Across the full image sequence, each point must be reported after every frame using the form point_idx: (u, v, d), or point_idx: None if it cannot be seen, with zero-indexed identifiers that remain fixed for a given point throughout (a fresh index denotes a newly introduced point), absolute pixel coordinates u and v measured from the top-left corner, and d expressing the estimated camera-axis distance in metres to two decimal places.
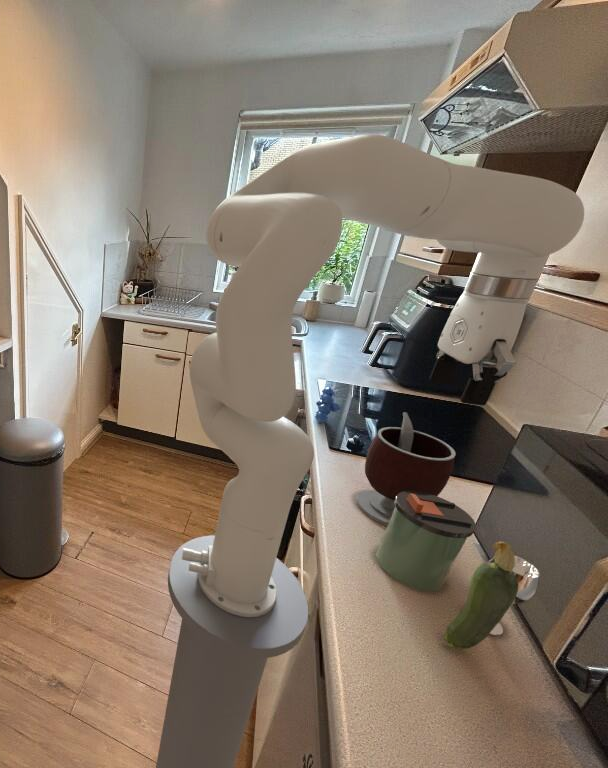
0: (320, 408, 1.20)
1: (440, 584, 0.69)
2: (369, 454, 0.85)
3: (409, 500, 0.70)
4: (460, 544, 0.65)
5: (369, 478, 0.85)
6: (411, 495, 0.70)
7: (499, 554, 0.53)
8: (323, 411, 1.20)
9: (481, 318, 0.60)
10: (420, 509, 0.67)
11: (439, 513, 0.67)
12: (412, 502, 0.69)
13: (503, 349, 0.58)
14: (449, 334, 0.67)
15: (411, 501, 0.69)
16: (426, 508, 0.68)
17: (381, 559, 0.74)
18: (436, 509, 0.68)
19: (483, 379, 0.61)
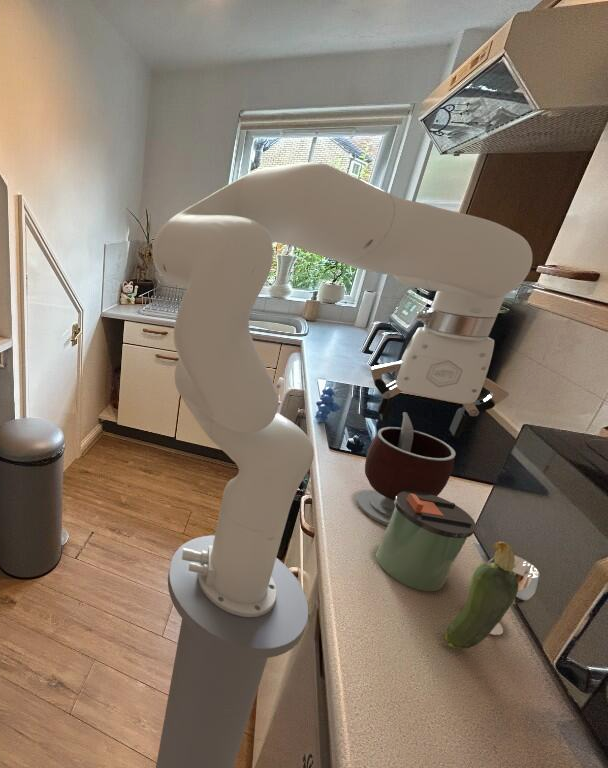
0: (320, 408, 1.20)
1: (440, 584, 0.69)
2: (369, 454, 0.85)
3: (409, 500, 0.70)
4: (460, 544, 0.65)
5: (369, 478, 0.85)
6: (411, 495, 0.70)
7: (499, 554, 0.53)
8: (323, 411, 1.20)
9: (481, 360, 0.58)
10: (420, 509, 0.67)
11: (439, 513, 0.67)
12: (412, 502, 0.69)
13: (493, 382, 0.60)
14: (424, 377, 0.62)
15: (411, 501, 0.69)
16: (426, 508, 0.68)
17: (381, 559, 0.74)
18: (436, 509, 0.68)
19: None
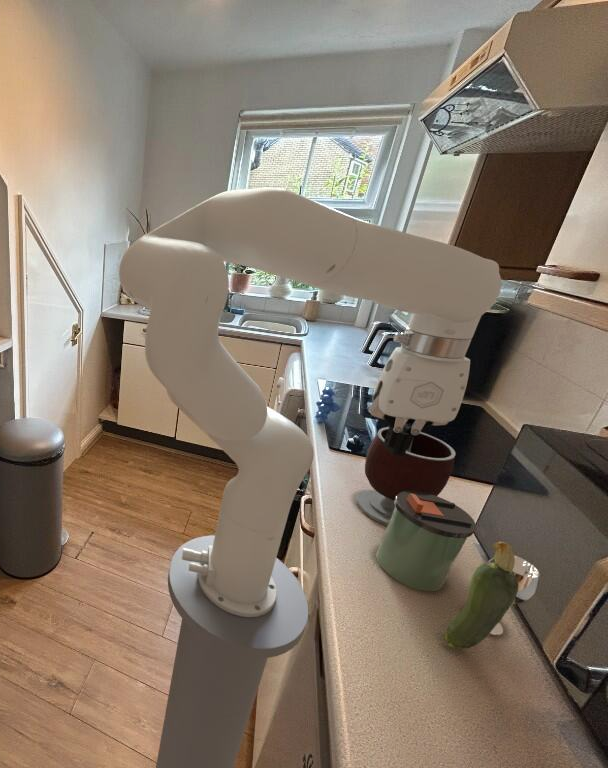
0: (320, 408, 1.20)
1: (440, 584, 0.69)
2: (369, 454, 0.85)
3: (409, 500, 0.70)
4: (460, 544, 0.65)
5: (369, 478, 0.85)
6: (411, 495, 0.70)
7: (499, 554, 0.53)
8: (323, 411, 1.20)
9: (460, 379, 0.58)
10: (420, 509, 0.67)
11: (439, 513, 0.67)
12: (412, 502, 0.69)
13: None
14: (408, 399, 0.61)
15: (411, 501, 0.69)
16: (426, 508, 0.68)
17: (381, 559, 0.74)
18: (436, 509, 0.68)
19: None
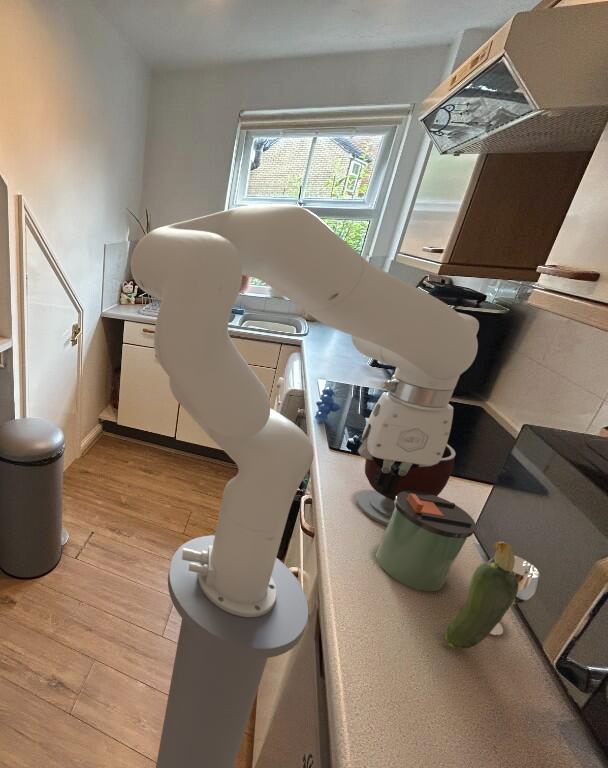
0: (320, 408, 1.20)
1: (440, 584, 0.69)
2: None
3: (409, 500, 0.70)
4: (460, 544, 0.65)
5: (369, 478, 0.85)
6: (411, 495, 0.70)
7: (499, 554, 0.53)
8: (323, 411, 1.20)
9: (444, 426, 0.61)
10: (420, 509, 0.67)
11: (439, 513, 0.67)
12: (412, 502, 0.69)
13: None
14: (395, 443, 0.63)
15: (411, 501, 0.69)
16: (426, 508, 0.68)
17: (381, 559, 0.74)
18: (436, 509, 0.68)
19: None
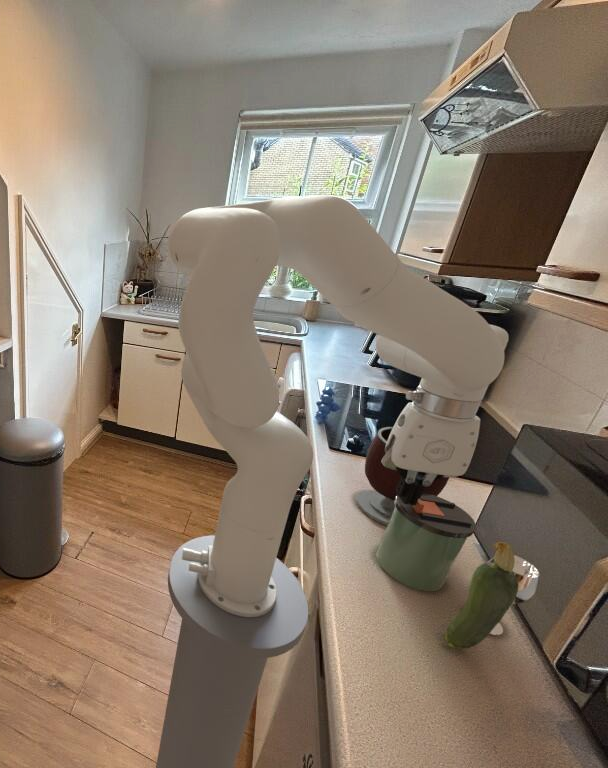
0: (320, 408, 1.20)
1: (440, 584, 0.69)
2: (369, 454, 0.85)
3: None
4: (460, 544, 0.65)
5: (369, 478, 0.85)
6: None
7: (499, 554, 0.53)
8: (323, 411, 1.20)
9: (471, 437, 0.61)
10: (421, 509, 0.67)
11: (440, 513, 0.67)
12: None
13: None
14: (420, 454, 0.63)
15: None
16: (427, 508, 0.68)
17: (381, 559, 0.74)
18: (437, 509, 0.68)
19: None
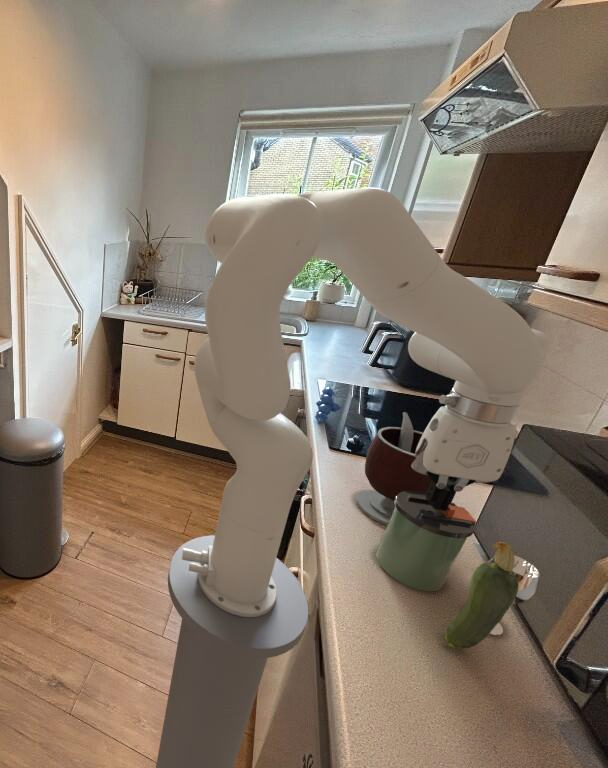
0: (320, 408, 1.20)
1: (440, 584, 0.69)
2: (369, 454, 0.85)
3: None
4: (460, 544, 0.65)
5: (369, 478, 0.85)
6: None
7: (499, 554, 0.53)
8: (323, 411, 1.20)
9: (506, 442, 0.60)
10: (451, 514, 0.67)
11: (471, 518, 0.66)
12: None
13: None
14: (453, 459, 0.62)
15: None
16: (457, 513, 0.67)
17: (381, 559, 0.74)
18: (467, 514, 0.67)
19: None
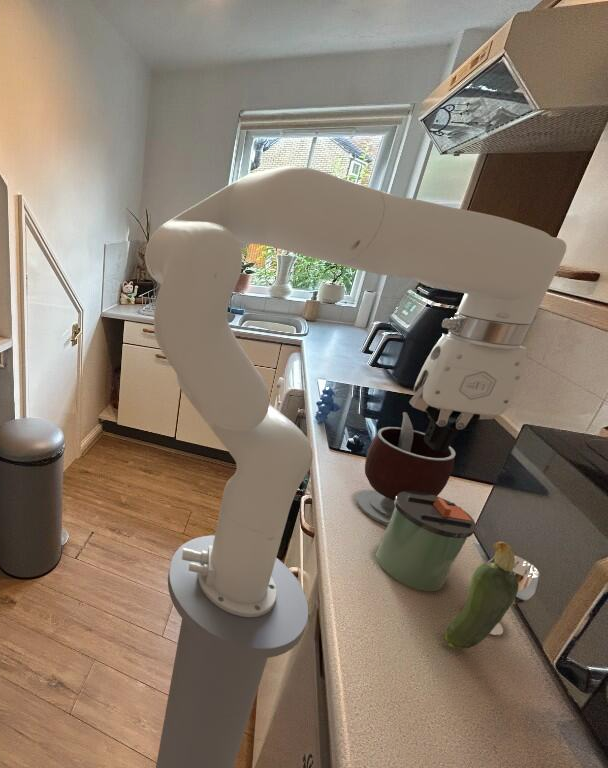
0: (320, 408, 1.20)
1: (440, 584, 0.69)
2: (369, 454, 0.85)
3: (436, 505, 0.69)
4: (460, 544, 0.65)
5: (369, 478, 0.85)
6: (438, 500, 0.69)
7: (499, 554, 0.53)
8: (323, 411, 1.20)
9: (515, 369, 0.54)
10: (448, 514, 0.67)
11: (467, 518, 0.66)
12: (439, 507, 0.68)
13: None
14: (456, 390, 0.56)
15: (439, 505, 0.68)
16: (454, 513, 0.67)
17: (381, 559, 0.74)
18: (464, 514, 0.67)
19: None
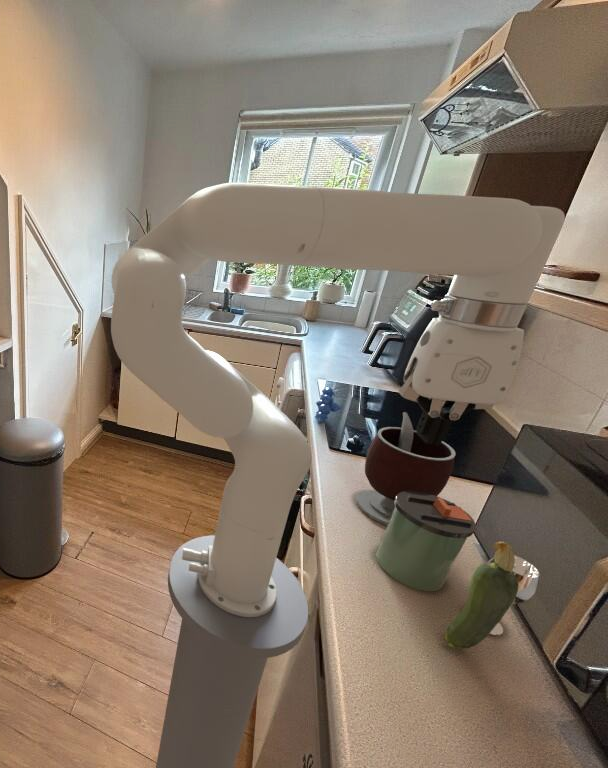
0: (320, 408, 1.20)
1: (440, 584, 0.69)
2: (369, 454, 0.85)
3: (436, 505, 0.69)
4: (460, 544, 0.65)
5: (369, 478, 0.85)
6: (438, 500, 0.69)
7: (499, 554, 0.53)
8: (323, 411, 1.20)
9: (512, 353, 0.49)
10: (448, 514, 0.67)
11: (467, 518, 0.66)
12: (439, 507, 0.68)
13: None
14: (448, 378, 0.52)
15: (439, 505, 0.68)
16: (454, 513, 0.67)
17: (381, 559, 0.74)
18: (464, 514, 0.67)
19: None
